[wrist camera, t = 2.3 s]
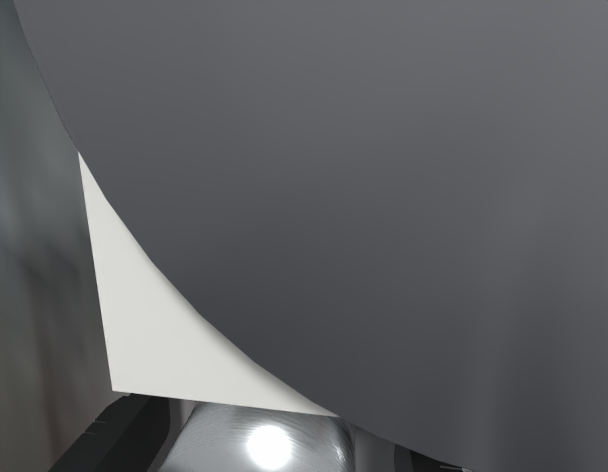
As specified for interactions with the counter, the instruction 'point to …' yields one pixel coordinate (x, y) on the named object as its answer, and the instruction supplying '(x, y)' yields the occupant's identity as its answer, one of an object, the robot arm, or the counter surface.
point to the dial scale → (351, 211)
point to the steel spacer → (261, 441)
